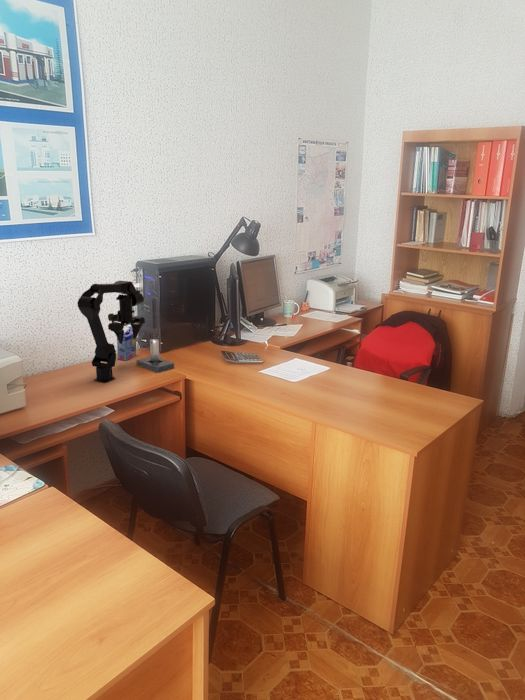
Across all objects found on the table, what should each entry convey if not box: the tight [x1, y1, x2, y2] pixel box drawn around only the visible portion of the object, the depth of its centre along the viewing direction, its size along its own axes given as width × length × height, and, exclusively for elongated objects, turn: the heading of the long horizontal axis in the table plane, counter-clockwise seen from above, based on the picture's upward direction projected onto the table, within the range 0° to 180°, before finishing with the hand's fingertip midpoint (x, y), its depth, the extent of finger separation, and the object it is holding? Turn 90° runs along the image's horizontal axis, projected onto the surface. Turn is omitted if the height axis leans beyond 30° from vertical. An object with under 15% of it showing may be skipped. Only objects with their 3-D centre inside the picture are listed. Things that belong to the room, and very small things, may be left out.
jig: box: [136, 356, 175, 374], centre depth 263 cm, size 10×16×2 cm, turn 46°
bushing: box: [149, 338, 160, 364], centre depth 262 cm, size 4×4×13 cm
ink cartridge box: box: [116, 328, 137, 361], centre depth 275 cm, size 10×6×14 cm, turn 163°
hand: (127, 341), depth 257 cm, fingers open, 9 cm apart
